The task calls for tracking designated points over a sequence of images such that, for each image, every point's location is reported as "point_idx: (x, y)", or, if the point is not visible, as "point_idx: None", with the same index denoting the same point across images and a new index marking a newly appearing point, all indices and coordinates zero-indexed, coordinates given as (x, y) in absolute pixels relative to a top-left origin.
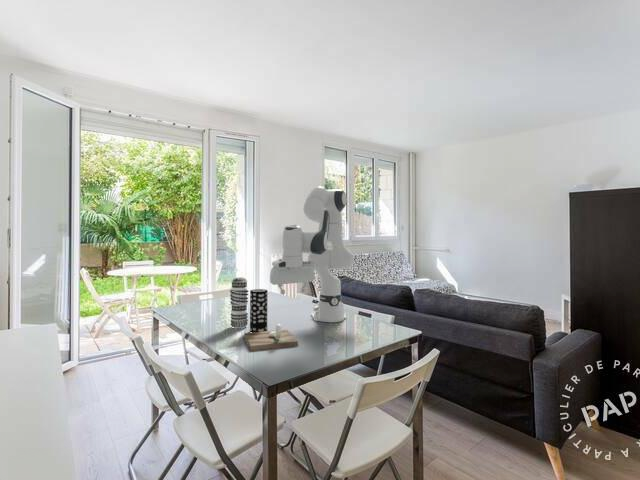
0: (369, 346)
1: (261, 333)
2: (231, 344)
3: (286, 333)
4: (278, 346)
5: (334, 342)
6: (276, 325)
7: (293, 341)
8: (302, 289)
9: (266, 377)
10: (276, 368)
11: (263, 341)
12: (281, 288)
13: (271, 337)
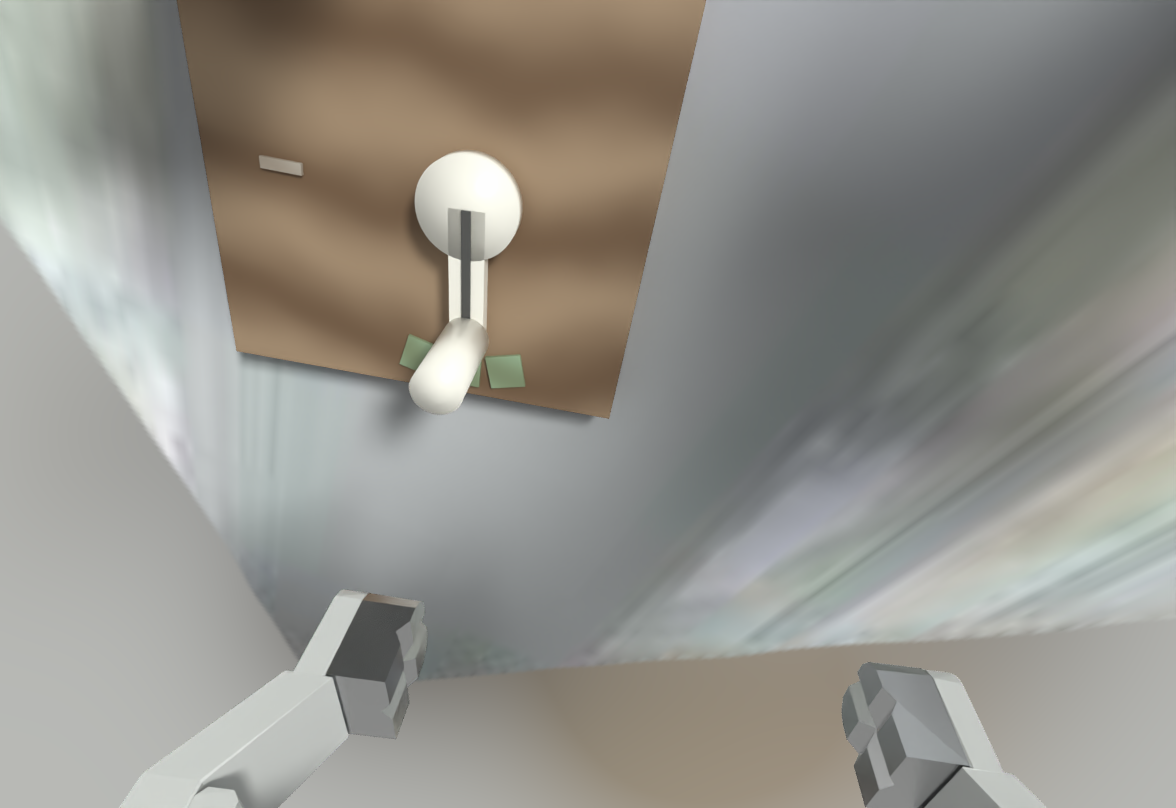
0: (994, 601)
1: (366, 18)
2: (83, 96)
3: (624, 168)
4: None
5: (886, 458)
6: (414, 396)
7: (573, 410)
8: (872, 783)
9: None
10: None
11: (346, 301)
12: (278, 784)
13: None
